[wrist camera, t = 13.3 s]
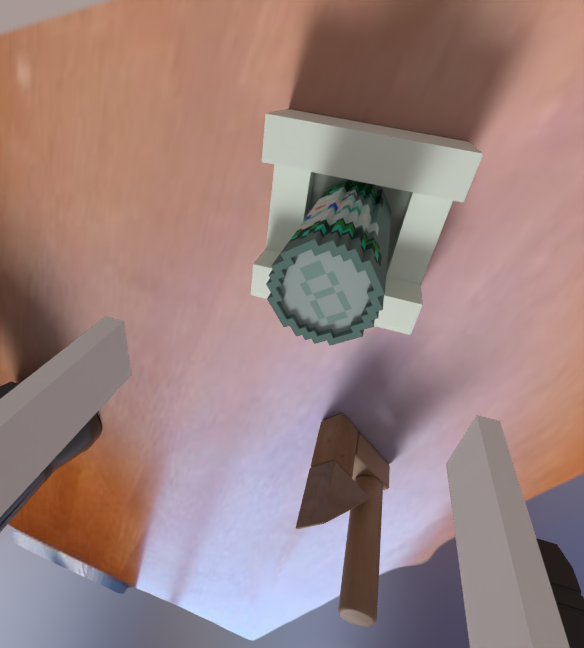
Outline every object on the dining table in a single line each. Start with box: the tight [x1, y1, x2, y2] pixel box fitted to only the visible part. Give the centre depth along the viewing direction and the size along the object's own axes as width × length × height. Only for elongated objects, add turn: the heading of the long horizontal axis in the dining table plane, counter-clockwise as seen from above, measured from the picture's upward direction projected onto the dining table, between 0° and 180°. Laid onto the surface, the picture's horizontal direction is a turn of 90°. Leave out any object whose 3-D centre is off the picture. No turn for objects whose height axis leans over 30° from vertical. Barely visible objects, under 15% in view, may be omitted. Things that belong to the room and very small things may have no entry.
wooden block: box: [296, 413, 390, 626], centre depth 41 cm, size 4×11×18 cm, turn 40°
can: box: [266, 179, 391, 345], centre depth 26 cm, size 6×6×15 cm
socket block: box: [251, 109, 483, 335], centre depth 30 cm, size 14×14×6 cm
